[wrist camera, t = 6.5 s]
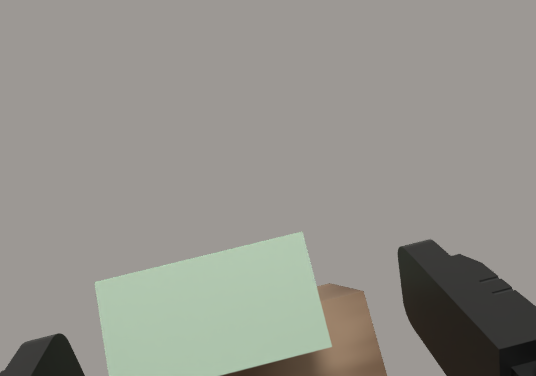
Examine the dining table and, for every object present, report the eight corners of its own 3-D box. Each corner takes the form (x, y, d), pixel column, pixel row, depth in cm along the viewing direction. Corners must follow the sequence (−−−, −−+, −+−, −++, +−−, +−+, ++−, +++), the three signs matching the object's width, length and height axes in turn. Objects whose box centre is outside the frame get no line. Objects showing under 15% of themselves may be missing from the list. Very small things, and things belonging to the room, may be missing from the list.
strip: (113, 402, 8) (94, 282, 9) (230, 303, 32) (223, 273, 32) (332, 346, 8) (302, 231, 9) (286, 289, 32) (279, 259, 32)
